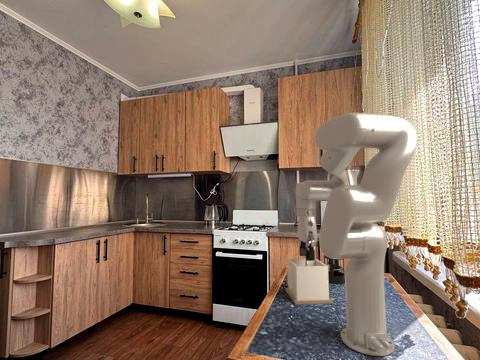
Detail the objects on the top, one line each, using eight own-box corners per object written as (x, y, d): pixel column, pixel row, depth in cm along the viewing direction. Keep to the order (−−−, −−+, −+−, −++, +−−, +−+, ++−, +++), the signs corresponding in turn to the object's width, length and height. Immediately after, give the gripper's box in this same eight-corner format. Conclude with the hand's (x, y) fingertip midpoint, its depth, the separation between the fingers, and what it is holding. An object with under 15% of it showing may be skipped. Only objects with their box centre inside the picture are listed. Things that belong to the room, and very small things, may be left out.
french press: (342, 286, 110) (341, 232, 112) (321, 282, 115) (319, 231, 117) (347, 279, 120) (346, 230, 122) (327, 275, 125) (326, 229, 127)
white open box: (332, 303, 92) (331, 266, 93) (294, 304, 91) (293, 267, 92) (318, 289, 106) (317, 258, 107) (284, 290, 105) (284, 258, 106)
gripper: (323, 214, 92) (325, 263, 91) (307, 211, 110) (308, 253, 108) (303, 214, 92) (304, 263, 90) (290, 212, 109) (291, 253, 108)
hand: (306, 257), depth 99 cm, fingers open, 7 cm apart
